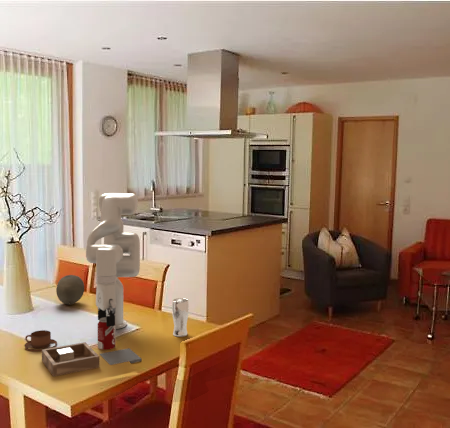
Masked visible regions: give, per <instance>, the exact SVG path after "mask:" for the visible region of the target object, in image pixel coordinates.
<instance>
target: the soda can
mask: <svg viewBox="0 0 450 428" xmlns="http://www.w3.org/2000/svg"><path fill="white" fill-rule="evenodd" d="M115 348H116V329H115V326H109V327H107V326H106V317H104V318H100V319H99V320H98V323H97V349H99V350H102V351H107V350H112V349H115Z"/></svg>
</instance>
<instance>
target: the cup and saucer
mask: <svg viewBox="0 0 450 428" xmlns="http://www.w3.org/2000/svg"><path fill="white" fill-rule="evenodd" d="M51 334H52V333H51V331H50V330H46V329H44V330H43V329H42V330H35V331H32V332H31V333H30V334H27V335H25V338H24V340H25V341H26V343H25V344H24V345H23V346H24V348H25V349H26V350H28V351H29V352H42V350H43V349H49V348H55V347H57V346H58V342H57V340H55V339H52V337H51V336H52V335H51ZM28 337H29V338H30V340H29V339H28ZM50 345H53V346H51V347H49V346H50ZM32 348H33V349H32Z"/></svg>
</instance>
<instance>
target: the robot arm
mask: <svg viewBox="0 0 450 428" xmlns="http://www.w3.org/2000/svg"><path fill="white" fill-rule="evenodd" d="M138 200H139V199H138V197H137V195H136V193H131V192H130V193H128V192H127V193H126V192H125V193H123V192H122V193H121V192H108V193H103V194H101V195H99V198H98V206H99V212H100V221H99V224H98V225H96V226H95V227H94V228H93V229H92V231H91V232H90V233H89V234H88V237H87V240H86V248H85V257H86V260H87V262H88V263H91V264H95V265H96V266H95V269H96V270H95V272H96V275H95V276H96V277H95V278H96V282H95V283H96V290H95V291H96V292H95V306H96V307H97V320H98V321H99V319H100V318H104V317H106V326H107V327H109V326H115V330H120V329H123V328H125V327H127V324H128V323H127V320H126V319H124V285H123V283H122V282H121V280H120V278H135V277H137V276H139V274H140V269H141V242H140V241H141V240H140V236H139V235H138V233H135V232H124V226H125V225H124V221H123V220H122V216H124V215H125V216H128V215H130V216H131V215H135V214H136V212H137V210H138V208H139V207H138V206H139V201H138ZM101 239H103V243H100V244H99V243H97V242H98V241H99V240H101ZM96 243H97V244H96ZM125 254H126V255H125Z"/></svg>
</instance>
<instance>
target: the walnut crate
mask: <svg viewBox="0 0 450 428" xmlns="http://www.w3.org/2000/svg"><path fill="white" fill-rule="evenodd" d="M69 347H70V348H71V349H72V350H73V351H74V360H70V361H65V362H59V363H58V362H57V361H56V350H57V349H63V348H69ZM48 348H49V349H47V348H42V349H43V350H42V351H41V361H42V363H43V364H44V366H45V367H46V368H47V370H48V372H49V373H50V374H51V375H52V377H58V376H62V375H63V376H64V375H67V374H73V373H74V374H75V373H77V372H83V371H84V372H85V371H88V370H93V369H97V368H100V354H98V353H97V352H96V351H94V349H93V348H92V347H91V346H90V345H89V344H88V343H87V342H78V343H73V344H67V345H63V346H62V345H61V346H55V347H54V348H50V347H48Z"/></svg>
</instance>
